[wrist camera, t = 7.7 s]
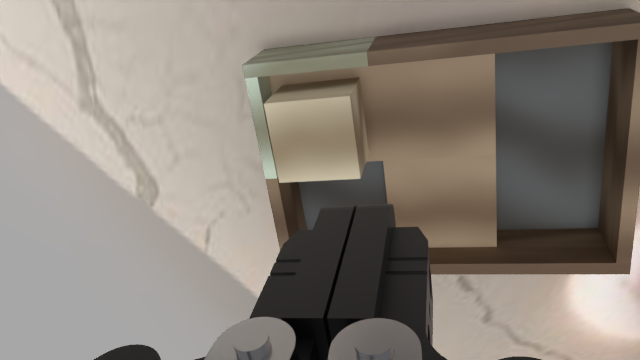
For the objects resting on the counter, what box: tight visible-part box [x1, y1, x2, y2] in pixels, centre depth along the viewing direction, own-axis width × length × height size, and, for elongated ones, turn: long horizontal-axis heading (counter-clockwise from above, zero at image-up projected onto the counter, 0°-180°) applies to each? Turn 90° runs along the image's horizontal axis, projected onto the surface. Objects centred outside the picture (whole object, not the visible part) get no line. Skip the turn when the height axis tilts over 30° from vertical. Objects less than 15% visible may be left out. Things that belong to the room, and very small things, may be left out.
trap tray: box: [242, 8, 640, 274], centre depth 34 cm, size 15×22×4 cm
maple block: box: [264, 77, 369, 183], centre depth 32 cm, size 5×5×4 cm
